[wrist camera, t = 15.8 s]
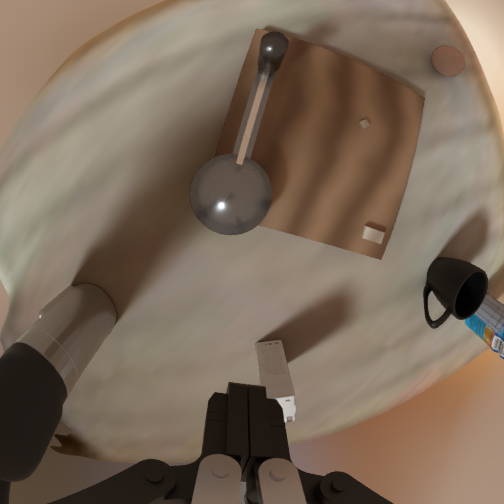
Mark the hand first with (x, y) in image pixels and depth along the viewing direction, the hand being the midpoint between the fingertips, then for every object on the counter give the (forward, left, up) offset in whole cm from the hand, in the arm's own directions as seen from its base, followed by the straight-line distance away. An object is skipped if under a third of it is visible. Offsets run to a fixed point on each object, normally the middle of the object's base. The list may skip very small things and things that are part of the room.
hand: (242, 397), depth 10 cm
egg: (+22, +36, -27) cm, 51 cm away
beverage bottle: (+50, -2, -27) cm, 57 cm away
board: (+7, +15, -27) cm, 31 cm away
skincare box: (+9, -18, -27) cm, 34 cm away
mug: (+32, +1, -27) cm, 42 cm away
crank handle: (-3, +12, -25) cm, 27 cm away
